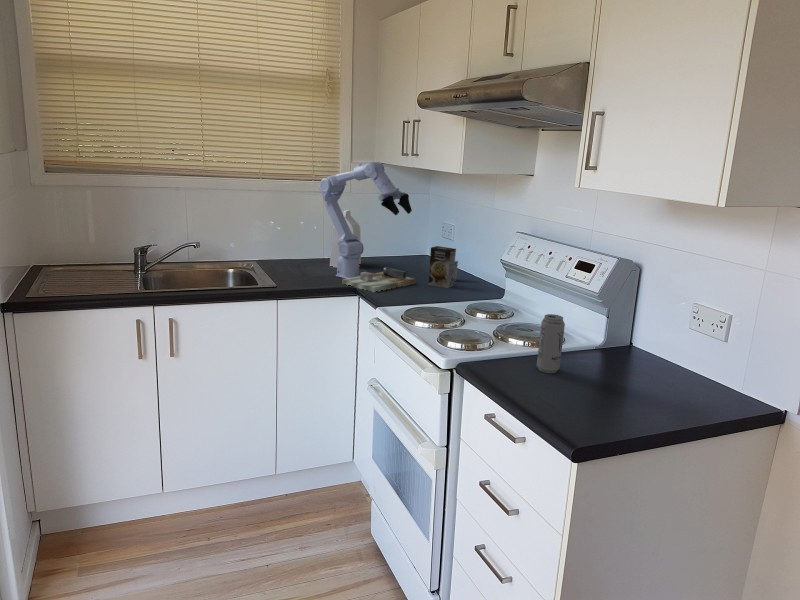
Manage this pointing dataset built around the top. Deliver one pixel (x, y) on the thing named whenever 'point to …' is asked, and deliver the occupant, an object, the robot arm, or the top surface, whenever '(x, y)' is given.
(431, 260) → the coffee box
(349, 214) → the milk
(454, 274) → the medicine box
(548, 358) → the energy drink can
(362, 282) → the door and jamb
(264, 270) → the top surface
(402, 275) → the lock bar
